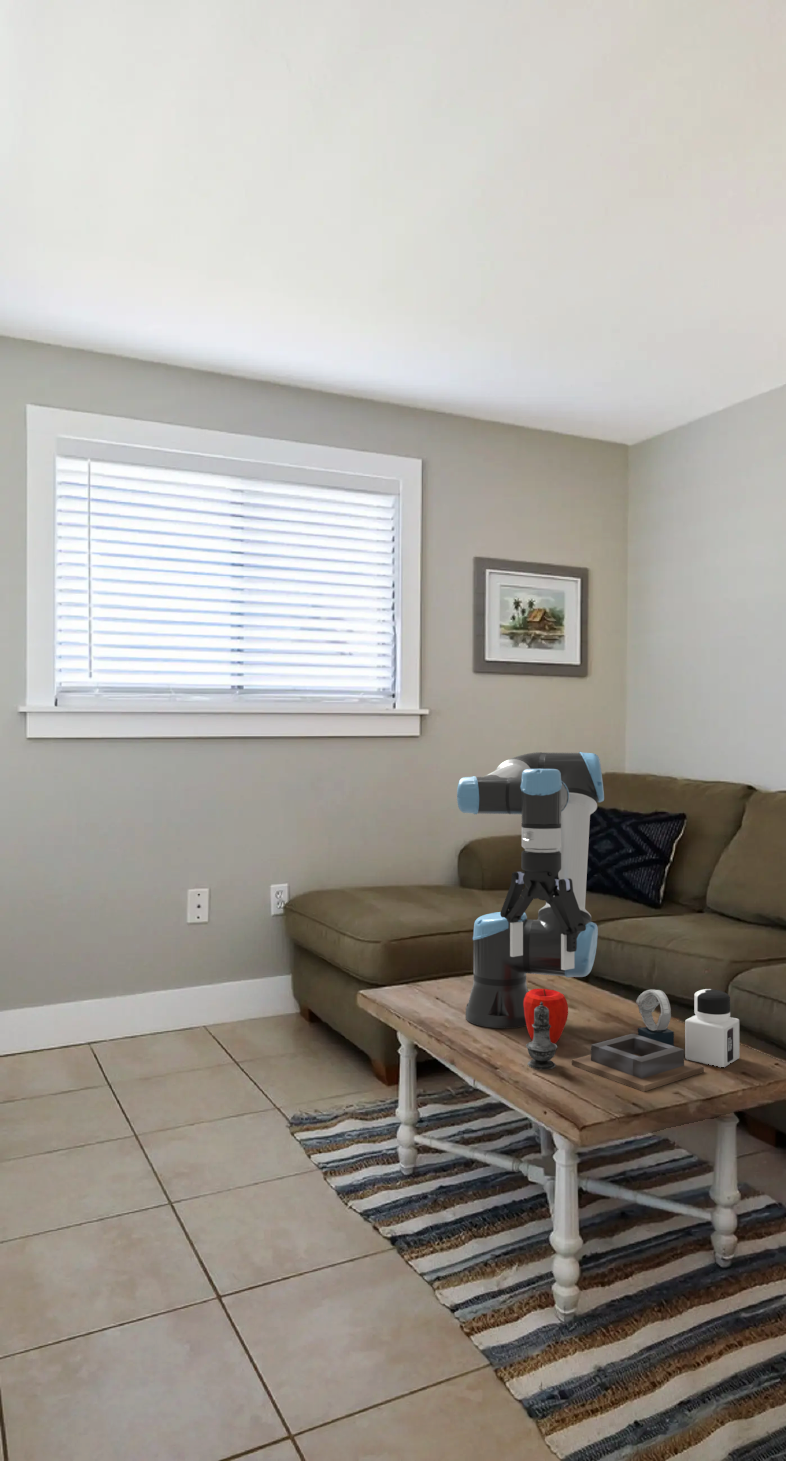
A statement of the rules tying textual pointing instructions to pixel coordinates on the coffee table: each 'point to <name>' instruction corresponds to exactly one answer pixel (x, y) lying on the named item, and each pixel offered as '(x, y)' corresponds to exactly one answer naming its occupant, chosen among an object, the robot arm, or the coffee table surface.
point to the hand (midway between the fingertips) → (541, 962)
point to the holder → (638, 1062)
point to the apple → (555, 1006)
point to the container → (712, 1030)
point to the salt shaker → (541, 1041)
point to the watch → (646, 1007)
